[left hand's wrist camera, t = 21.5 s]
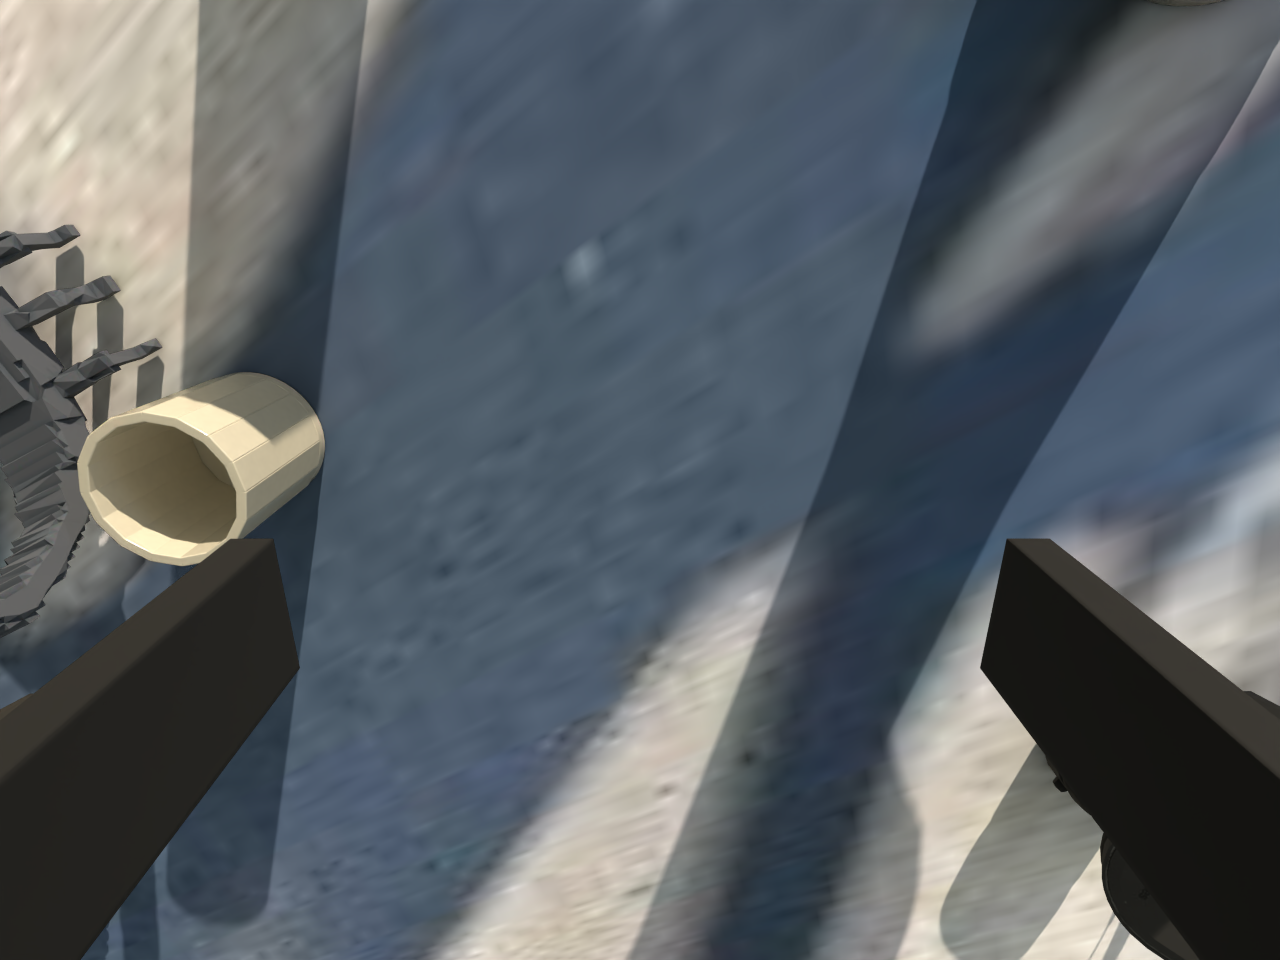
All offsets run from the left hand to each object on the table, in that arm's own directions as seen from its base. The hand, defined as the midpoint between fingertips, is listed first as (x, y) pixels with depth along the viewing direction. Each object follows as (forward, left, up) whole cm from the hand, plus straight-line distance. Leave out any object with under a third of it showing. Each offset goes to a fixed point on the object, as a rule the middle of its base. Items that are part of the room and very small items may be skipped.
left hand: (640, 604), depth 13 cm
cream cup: (+22, -8, -29) cm, 37 cm away
